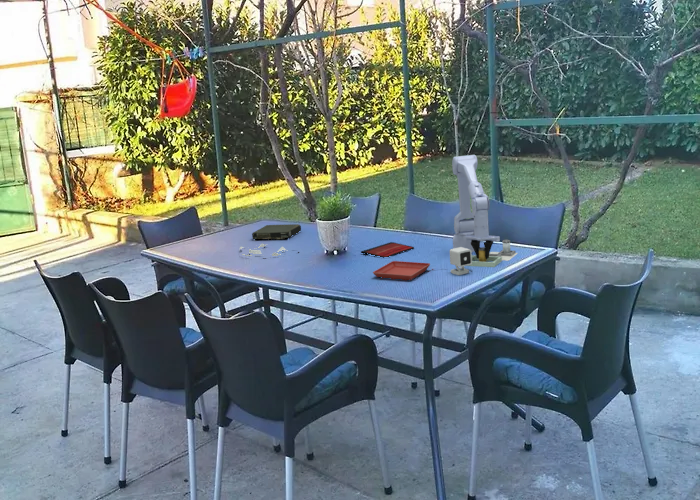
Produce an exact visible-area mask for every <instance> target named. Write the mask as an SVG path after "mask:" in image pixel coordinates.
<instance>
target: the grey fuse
mask: <svg viewBox="0 0 700 500" xmlns="http://www.w3.org/2000/svg"><path fill="white" fill-rule="evenodd" d="M501 242H502V250H503V253H511V251H510V250H511V240H510V239H503V240H502V241H501Z"/></svg>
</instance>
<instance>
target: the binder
mask: <svg viewBox="0 0 700 500" xmlns="http://www.w3.org/2000/svg"><path fill="white" fill-rule="evenodd" d="M414 247H415V246H412V245H406V244H402V243H398V242H393V241H390V242H387V243H383V244H381V245H378V246H375V247H371V248H367V249H363V250H361V251H360V254H361V253H368V254H371V255H375V256H380V257H389V256H391V257H393V255H394V256H396V255H399V254H402V253H404V252H403V251H405V252H408V251H412V250H414V249H415V248H414ZM411 249H412V250H411ZM407 250H408V251H407ZM401 252H402V253H401ZM398 253H399V254H398ZM395 254H396V255H395ZM380 257H379V258H380ZM389 258H390V257H389Z"/></svg>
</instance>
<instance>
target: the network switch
mask: <svg viewBox="0 0 700 500" xmlns="http://www.w3.org/2000/svg"><path fill="white" fill-rule="evenodd" d="M299 231H301V232H302V226H301V225H300V224H298V223H297V224H296V223H295V224H291V223H290V224H289V223H288V224H266V225H264V226H263V227H261V228H259V229H257V230H256V231H253V232H252V233H251V235H252V236H251V237H252V240H253V239H268V240H269V239H271V240H272V239H274V240H275V239H276V240H286V239H285V238H289V237H291V236H292V235H294V234H296V233H298V232H299ZM298 234H299V233H298ZM296 235H297V234H296ZM294 236H295V235H294ZM291 238H292V237H291Z"/></svg>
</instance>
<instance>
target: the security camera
mask: <svg viewBox="0 0 700 500" xmlns="http://www.w3.org/2000/svg"><path fill="white" fill-rule="evenodd" d="M472 253H473V252H472V251H471V250H470V249H467V248H463V247H459V248H454V249H453V248H451V249H449V263H450V265H454V266H455V268H453V269H450V273H451V274H452V275H456V276H461V275H465V274H469V273H470V270H469V269H468V268H465V267H469V266H468V265H471V264H472V255H473V254H472Z"/></svg>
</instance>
